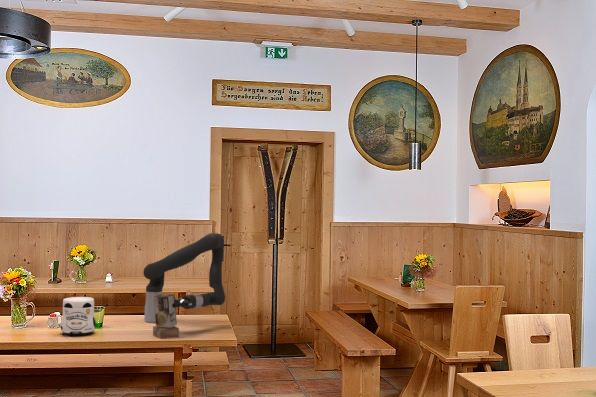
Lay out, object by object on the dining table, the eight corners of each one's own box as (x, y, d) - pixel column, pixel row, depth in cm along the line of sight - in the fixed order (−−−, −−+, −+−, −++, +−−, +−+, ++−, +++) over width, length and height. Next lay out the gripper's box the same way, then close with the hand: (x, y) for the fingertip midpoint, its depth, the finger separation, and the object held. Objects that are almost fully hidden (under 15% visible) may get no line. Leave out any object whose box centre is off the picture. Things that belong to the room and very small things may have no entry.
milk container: (71, 338, 355) (72, 302, 355) (54, 333, 367) (54, 298, 367) (101, 334, 368) (102, 299, 368) (84, 329, 380) (84, 295, 380)
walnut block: (152, 335, 368) (153, 326, 368) (170, 334, 373) (171, 324, 373) (160, 339, 360) (160, 329, 359) (178, 337, 365) (178, 328, 365)
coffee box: (177, 324, 368) (175, 294, 367) (170, 328, 362) (168, 297, 361) (162, 324, 371) (160, 293, 370) (155, 327, 365) (153, 296, 364)
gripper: (184, 293, 384) (159, 295, 372) (201, 295, 374) (176, 298, 362) (184, 306, 384) (159, 309, 372) (201, 310, 374) (176, 313, 362)
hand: (168, 304), depth 367 cm, fingers open, 8 cm apart
